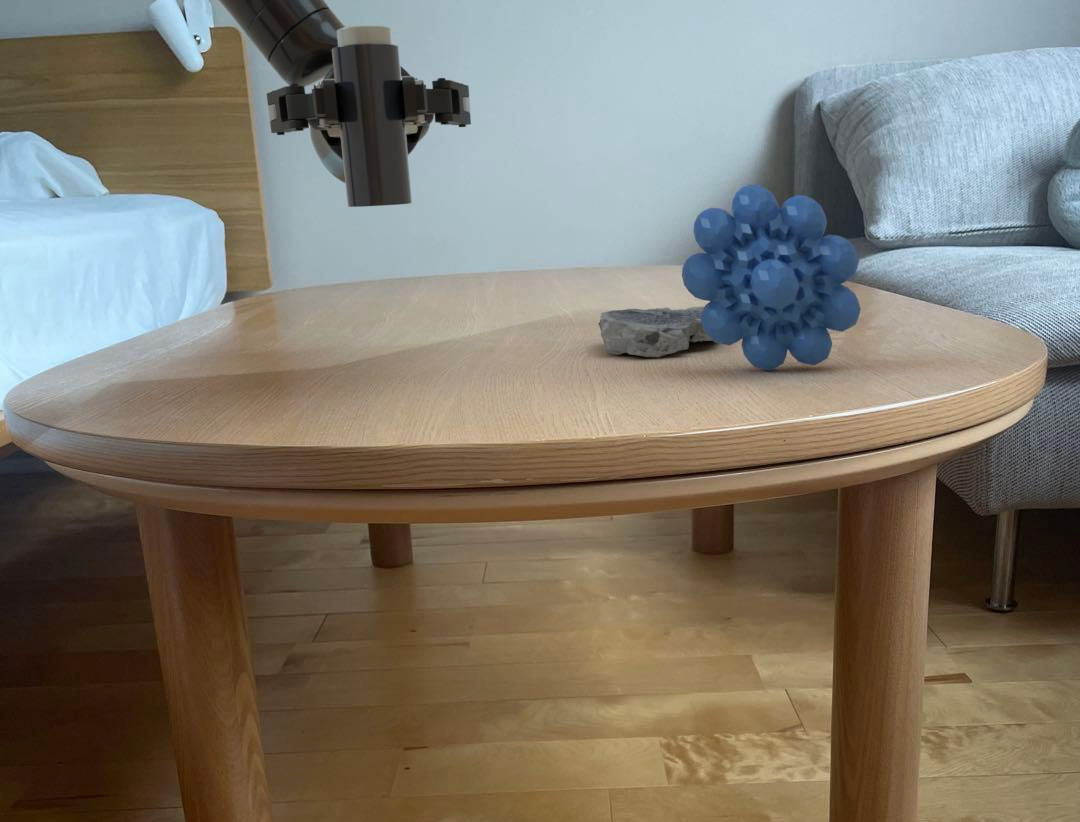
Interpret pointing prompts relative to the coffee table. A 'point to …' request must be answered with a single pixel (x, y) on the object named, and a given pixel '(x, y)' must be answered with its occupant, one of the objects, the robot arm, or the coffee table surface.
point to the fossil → (651, 330)
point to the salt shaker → (371, 117)
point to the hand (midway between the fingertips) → (370, 98)
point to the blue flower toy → (772, 278)
